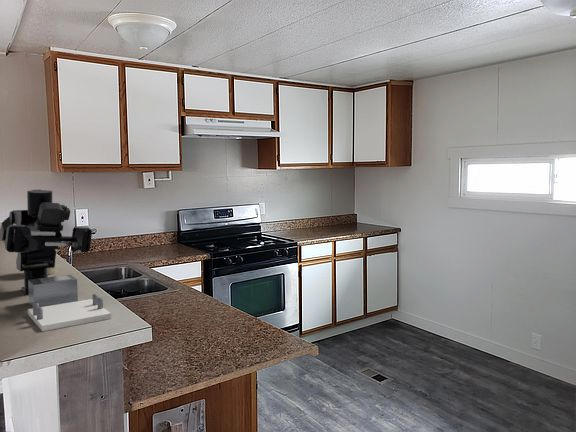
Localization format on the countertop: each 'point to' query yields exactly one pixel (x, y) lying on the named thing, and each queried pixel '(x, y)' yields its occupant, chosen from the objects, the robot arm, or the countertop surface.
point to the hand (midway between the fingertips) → (59, 247)
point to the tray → (69, 313)
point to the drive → (53, 290)
